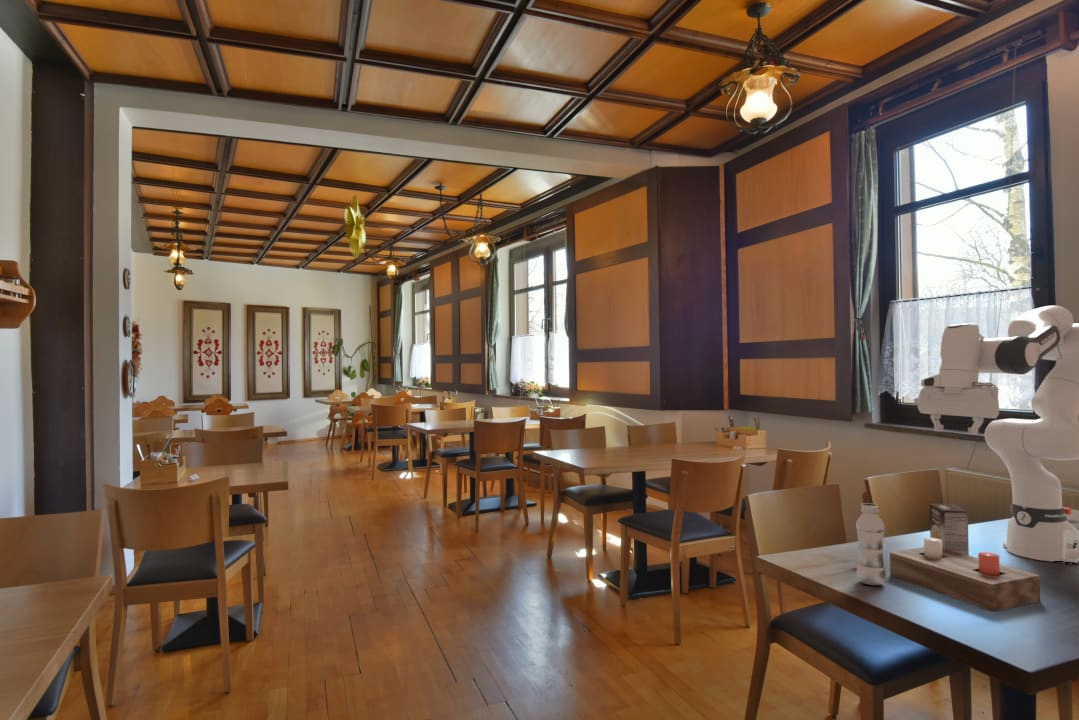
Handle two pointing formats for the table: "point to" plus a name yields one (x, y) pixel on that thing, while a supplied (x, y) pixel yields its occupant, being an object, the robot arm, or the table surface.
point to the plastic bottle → (870, 546)
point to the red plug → (989, 563)
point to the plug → (933, 548)
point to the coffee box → (950, 527)
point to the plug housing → (966, 579)
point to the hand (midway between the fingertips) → (955, 432)
